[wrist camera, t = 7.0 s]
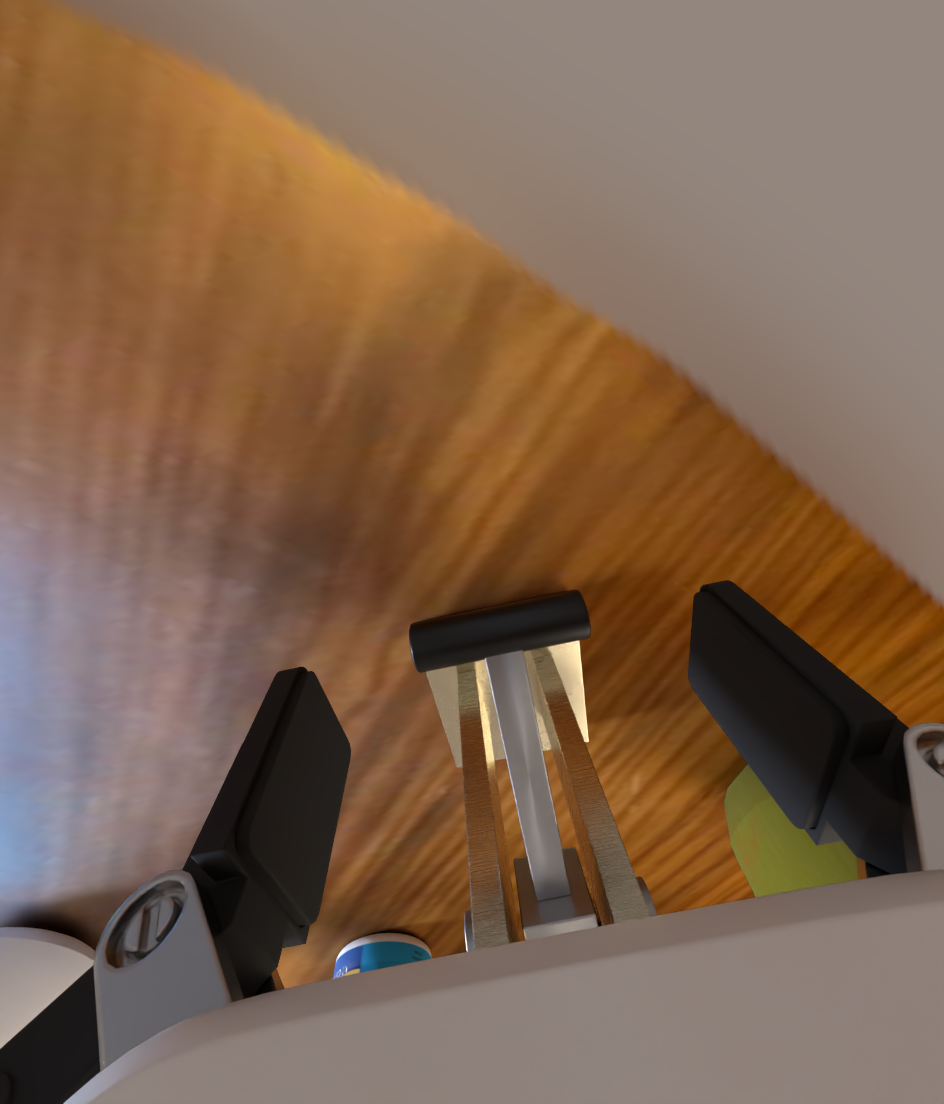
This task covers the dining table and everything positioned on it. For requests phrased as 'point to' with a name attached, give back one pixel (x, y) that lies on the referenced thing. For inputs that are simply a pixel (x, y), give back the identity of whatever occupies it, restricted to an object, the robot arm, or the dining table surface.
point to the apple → (779, 843)
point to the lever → (521, 740)
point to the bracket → (565, 732)
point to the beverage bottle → (380, 953)
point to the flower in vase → (35, 973)
